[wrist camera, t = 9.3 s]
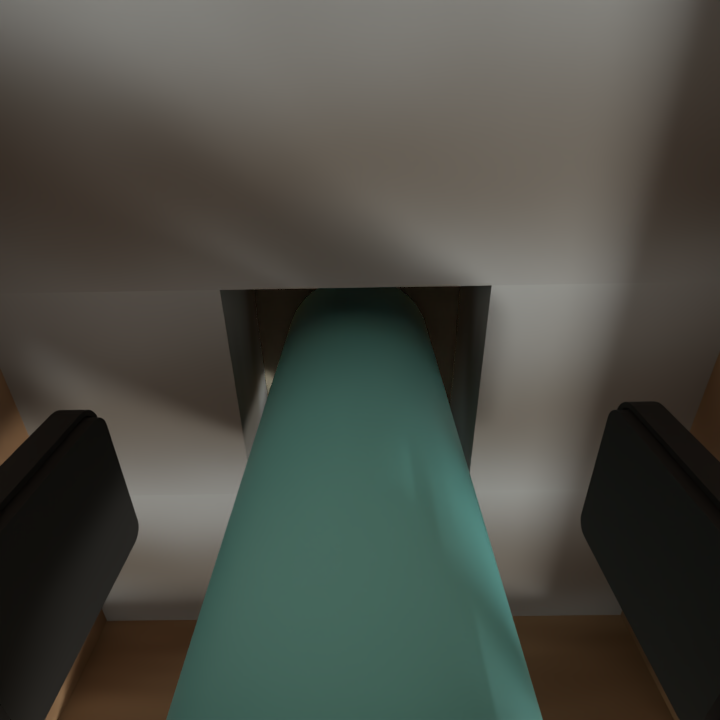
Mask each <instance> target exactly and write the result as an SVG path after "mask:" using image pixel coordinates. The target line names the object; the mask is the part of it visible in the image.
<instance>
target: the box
mask: <svg viewBox="0 0 720 720" xmlns="http://www.w3.org/2000/svg"><path fill="white" fill-rule="evenodd" d="M427 286H460V296H459V308H458V320H457V332H456V343H455V355H454V367H453V378H452V390H451V402H450V408H451V412H452V415H453V419H454V422H455V425H456V429H457V432H458V435H459V439H460V442H461V445H462V449H463V452H464V456H465V459H466V462H467V466H468V469H469V472H470V476H471V479H472V483H473V486H474V489H475V493H476V496H477V499H478V503H479V506H480V510H481V513H482V516H483V520H484V523H485V526H486V530H487V533H488V536H489V540H490V543H491V547H492V550H493V553H494V557H495V560H496V563H497V567H498V570H499V574H500V577H501V580H502V584H503V587H504V590H505V594H506V597H507V601H508V604H509V607H510V611H511V614H512V617H513V621H514V624H515V627H516V631H517V634H518V638H519V641H520V644H521V648H522V651H523V654H524V658H525V661H526V665H527V668H528V671H529V675H530V678H531V681H532V685H533V688H534V692H535V695H536V698H537V702H538V705H539V708H540V712H541V715H542V718H543V720H679V718H678V717H677V715H676V713H675V711H674V709H673V707H672V705H671V703H670V701H669V699H668V697H667V695H666V693H665V692H664V690H663V688H662V686H661V684H660V682H659V680H658V678H657V676H656V674H655V672H654V670H653V668H652V666H651V665H650V663H649V661H648V659H647V657H646V655H645V653H644V651H643V649H642V647H641V645H640V643H639V641H638V639H637V638H636V636H635V634H634V632H633V630H632V628H631V626H630V624H629V622H628V620H627V618H626V616H625V614H624V612H623V611H622V609H621V607H620V605H619V603H618V601H617V599H616V597H615V595H614V593H613V591H612V589H611V587H610V585H609V584H608V582H607V580H606V578H605V576H604V574H603V572H602V570H601V568H600V566H599V564H598V562H597V560H596V558H595V557H594V555H593V553H592V551H591V549H590V547H589V545H588V543H587V541H586V539H585V537H584V535H583V533H582V529H581V513H582V509H583V506H584V502H585V498H586V495H587V491H588V487H589V484H590V480H591V476H592V473H593V469H594V465H595V462H596V458H597V454H598V451H599V447H600V443H601V440H602V436H603V433H604V429H605V425H606V422H607V418H608V415H609V413H610V412H611V411H612V410H617V408H618V406H619V405H620V404H621V403H623V402H639V401H655V402H659V403H660V404H662V405H663V406H664V407H665V408H666V409H667V410H668V411H669V412H670V413H671V414H672V415H673V416H674V417H675V418H676V419H677V420H678V421H679V422H680V423H681V424H682V425H683V426H684V427H685V428H686V429H687V430H688V431H689V432H690V433H691V434H692V435H693V436H694V437H695V438H696V439H697V440H698V441H699V442H700V443H701V444H702V445H703V446H704V447H705V448H706V449H707V450H708V451H709V452H710V453H711V454H712V455H713V456H714V457H715V458H716V459H717V460H718V461H719V462H720V0H0V466H1V465H2V464H3V463H4V462H5V461H6V460H7V459H8V458H9V457H10V456H11V455H12V453H13V452H14V451H15V450H16V449H17V448H18V447H19V446H20V445H21V444H22V443H23V442H24V441H25V440H26V439H27V438H28V437H29V436H30V435H31V434H32V433H33V432H34V431H35V430H36V429H37V428H38V427H39V426H40V425H41V424H42V423H43V422H44V421H45V420H46V419H47V418H48V417H49V416H50V415H51V414H52V413H54V412H55V411H58V410H91V411H93V412H94V413H95V414H96V415H97V417H100V418H103V419H104V420H105V422H106V424H107V427H108V430H109V433H110V436H111V439H112V442H113V445H114V448H115V451H116V454H117V457H118V461H119V464H120V467H121V470H122V473H123V476H124V479H125V482H126V485H127V488H128V491H129V494H130V498H131V501H132V504H133V507H134V510H135V513H136V516H137V519H138V524H139V531H138V536H137V540H136V542H135V544H134V546H133V548H132V550H131V552H130V554H129V556H128V558H127V560H126V562H125V564H124V566H123V568H122V570H121V572H120V574H119V575H118V577H117V579H116V581H115V583H114V585H113V587H112V589H111V591H110V593H109V595H108V597H107V599H106V601H105V603H104V605H103V607H102V609H101V611H100V613H99V615H98V617H97V619H96V621H95V623H94V625H93V626H92V628H91V630H90V632H89V634H88V636H87V638H86V640H85V642H84V644H83V646H82V648H81V650H80V652H79V654H78V656H77V658H76V660H75V662H74V664H73V666H72V668H71V670H70V672H69V674H68V676H67V678H66V679H65V681H64V683H63V685H62V687H61V689H60V691H59V693H58V695H57V697H56V699H55V701H54V703H53V705H52V707H51V709H50V711H49V713H48V715H47V717H46V719H45V720H166V718H167V715H168V712H169V709H170V706H171V702H172V699H173V696H174V693H175V690H176V686H177V683H178V680H179V677H180V674H181V671H182V667H183V664H184V661H185V658H186V655H187V652H188V648H189V645H190V642H191V639H192V636H193V633H194V629H195V626H196V623H197V620H198V617H199V613H200V610H201V607H202V604H203V601H204V598H205V594H206V591H207V588H208V585H209V582H210V579H211V575H212V572H213V569H214V566H215V563H216V559H217V556H218V553H219V550H220V547H221V544H222V540H223V537H224V534H225V531H226V528H227V525H228V521H229V518H230V515H231V512H232V509H233V506H234V502H235V499H236V496H237V493H238V490H239V486H240V483H241V480H242V477H243V474H244V471H245V467H246V464H247V461H248V458H249V455H250V452H251V448H252V445H253V442H254V439H255V436H256V432H257V429H258V426H259V423H260V420H261V417H262V413H263V410H264V407H265V404H266V401H267V398H268V396H267V388H266V380H265V372H264V364H263V356H262V348H261V341H260V333H259V325H258V317H257V309H256V301H255V293H254V289H306V288H366V287H427Z"/></svg>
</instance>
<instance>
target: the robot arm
mask: <svg viewBox="0 0 720 720" xmlns="http://www.w3.org/2000/svg"><path fill="white" fill-rule="evenodd" d="M581 529H582V533H583V535H584V537H585V539H586V541H587V543H588V545H589V547H590V549H591V551H592V553H593V555H594V557H595V558H596V560H597V562H598V564H599V566H600V568H601V570H602V572H603V574H604V576H605V578H606V580H607V582H608V584H609V585H610V587H611V589H612V591H613V593H614V595H615V597H616V599H617V601H618V603H619V605H620V607H621V609H622V611H623V612H624V614H625V616H626V618H627V620H628V622H629V624H630V626H631V628H632V630H633V632H634V634H635V636H636V638H637V639H638V641H639V643H640V645H641V647H642V649H643V651H644V653H645V655H646V657H647V659H648V661H649V663H650V665H651V666H652V668H653V670H654V672H655V674H656V676H657V678H658V680H659V682H660V684H661V686H662V688H663V690H664V692H665V693H666V695H667V697H668V699H669V701H670V703H671V705H672V707H673V709H674V711H675V713H676V715H677V717H678V718H679V720H720V462H719V461H718V460H717V459H716V458H715V457H714V456H713V455H712V454H711V453H710V452H709V451H708V450H707V449H706V448H705V447H704V446H703V445H702V444H701V443H700V442H699V441H698V440H697V439H696V438H695V437H694V436H693V435H692V434H691V433H690V432H689V431H688V430H687V429H686V428H685V427H684V426H683V425H682V424H681V423H680V422H679V421H678V420H677V419H676V418H675V417H674V416H673V415H672V414H671V413H670V412H669V411H668V410H667V409H666V408H665V407H664V406H663V405H662V404H660V403H659V402H655V401H639V402H623V403H621V404H620V405H619V406H618V408H617V410H612V411H611V412H610V413H609V415H608V418H607V422H606V425H605V429H604V433H603V436H602V440H601V443H600V447H599V451H598V454H597V458H596V462H595V465H594V469H593V473H592V476H591V480H590V484H589V487H588V491H587V495H586V498H585V502H584V506H583V509H582V513H581ZM138 531H139V524H138V519H137V516H136V513H135V510H134V507H133V504H132V501H131V498H130V494H129V491H128V488H127V485H126V482H125V479H124V476H123V473H122V470H121V467H120V464H119V461H118V457H117V454H116V451H115V448H114V445H113V442H112V439H111V436H110V433H109V430H108V427H107V424H106V422H105V420H104V419H103V418H100V417H97V415H96V414H95V413H94V412H93V411H91V410H58V411H55V412H54V413H52V414H51V415H50V416H49V417H48V418H47V419H46V420H45V421H44V422H43V423H42V424H41V425H40V426H39V427H38V428H37V429H36V430H35V431H34V432H33V433H32V434H31V435H30V436H29V437H28V438H27V439H26V440H25V441H24V442H23V443H22V444H21V445H20V446H19V447H18V448H17V449H16V450H15V451H14V452H13V453H12V455H11V456H10V457H9V458H8V459H7V460H6V461H5V462H4V463H3V464H2V465H1V466H0V720H45V719H46V717H47V715H48V713H49V711H50V709H51V707H52V705H53V703H54V701H55V699H56V697H57V695H58V693H59V691H60V689H61V687H62V685H63V683H64V681H65V679H66V678H67V676H68V674H69V672H70V670H71V668H72V666H73V664H74V662H75V660H76V658H77V656H78V654H79V652H80V650H81V648H82V646H83V644H84V642H85V640H86V638H87V636H88V634H89V632H90V630H91V628H92V626H93V625H94V623H95V621H96V619H97V617H98V615H99V613H100V611H101V609H102V607H103V605H104V603H105V601H106V599H107V597H108V595H109V593H110V591H111V589H112V587H113V585H114V583H115V581H116V579H117V577H118V575H119V574H120V572H121V570H122V568H123V566H124V564H125V562H126V560H127V558H128V556H129V554H130V552H131V550H132V548H133V546H134V544H135V542H136V540H137V536H138Z"/></svg>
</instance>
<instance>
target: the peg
mask: <svg viewBox="0 0 720 720" xmlns="http://www.w3.org/2000/svg"><path fill="white" fill-rule="evenodd" d="M166 720H543V718H542V715H541V712H540V708H539V705H538V702H537V698H536V695H535V692H534V688H533V685H532V681H531V678H530V675H529V671H528V668H527V665H526V661H525V658H524V654H523V651H522V648H521V644H520V641H519V638H518V634H517V631H516V627H515V624H514V621H513V617H512V614H511V611H510V607H509V604H508V601H507V597H506V594H505V590H504V587H503V584H502V580H501V577H500V574H499V570H498V567H497V563H496V560H495V557H494V553H493V550H492V547H491V543H490V540H489V536H488V533H487V530H486V526H485V523H484V520H483V516H482V513H481V510H480V506H479V503H478V499H477V496H476V493H475V489H474V486H473V483H472V479H471V476H470V472H469V469H468V466H467V462H466V459H465V456H464V452H463V449H462V445H461V442H460V439H459V435H458V432H457V429H456V425H455V422H454V419H453V415H452V412H451V408H450V405H449V402H448V398H447V395H446V392H445V388H444V385H443V381H442V378H441V375H440V371H439V368H438V365H437V361H436V358H435V354H434V351H433V348H432V344H431V341H430V338H429V334H428V331H427V328H426V324H425V321H424V318H423V316H422V314H421V312H420V310H419V309H418V307H417V306H416V304H415V303H414V302H413V301H412V300H411V298H410V297H409V296H408V295H406V294H405V293H404V292H403V291H402V290H400V289H398V288H397V287H366V288H318V289H316V290H315V291H313V292H312V293H311V294H310V295H309V296H307V297H306V298H305V300H304V301H303V302H302V303H301V304H300V306H299V307H298V309H297V310H296V312H295V314H294V316H293V319H292V321H291V325H290V328H289V331H288V334H287V337H286V340H285V344H284V347H283V350H282V353H281V356H280V359H279V363H278V366H277V369H276V372H275V375H274V379H273V382H272V385H271V388H270V391H269V394H268V398H267V401H266V404H265V407H264V410H263V413H262V417H261V420H260V423H259V426H258V429H257V432H256V436H255V439H254V442H253V445H252V448H251V452H250V455H249V458H248V461H247V464H246V467H245V471H244V474H243V477H242V480H241V483H240V486H239V490H238V493H237V496H236V499H235V502H234V506H233V509H232V512H231V515H230V518H229V521H228V525H227V528H226V531H225V534H224V537H223V540H222V544H221V547H220V550H219V553H218V556H217V559H216V563H215V566H214V569H213V572H212V575H211V579H210V582H209V585H208V588H207V591H206V594H205V598H204V601H203V604H202V607H201V610H200V613H199V617H198V620H197V623H196V626H195V629H194V633H193V636H192V639H191V642H190V645H189V648H188V652H187V655H186V658H185V661H184V664H183V667H182V671H181V674H180V677H179V680H178V683H177V686H176V690H175V693H174V696H173V699H172V702H171V706H170V709H169V712H168V715H167V718H166Z"/></svg>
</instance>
